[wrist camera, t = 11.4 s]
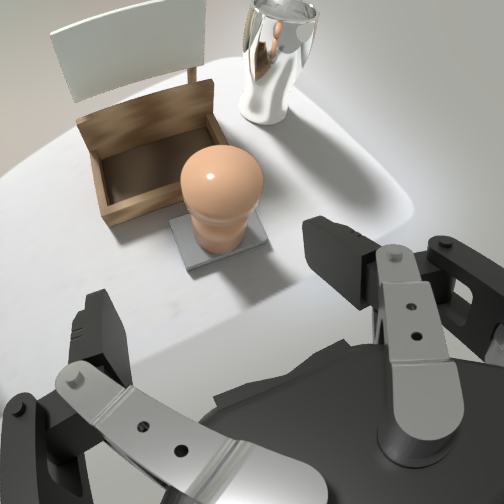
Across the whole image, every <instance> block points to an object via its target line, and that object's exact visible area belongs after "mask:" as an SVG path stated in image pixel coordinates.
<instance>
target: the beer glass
mask: <svg viewBox="0 0 504 504" xmlns="http://www.w3.org/2000/svg"><path fill="white" fill-rule="evenodd" d="M319 15H320V13H319V11H318V9H317V8H316V7H314V6H313V5H312V4H310V3H309V2H307V1H305V0H251V3H250V8H249V12H248V15H247V20H246V24H245V29H244V36H243V62H244V72H245V86H244V90H243V93H242V95H241V98H240V100H239V110H240V113H241V114H242V115H243V116H244V117H245V118H246V119H248V120H249V121H251V122H253V123H256V124H261V125H272V124H276V123H279V122H280V121H282V120H283V119H284V118H285V116H286V114H287V110H288V96H289V93H290V90H291V88H292V86H293V84H294V82H295V81H296V79H297V77H298V76H299V74H300V72H301V71H302V69H303V67H304V65H305V63H306V61H307V59H308V56H309V54H310V51H311V48H312V45H313V41H314V37H315V33H316V28H317V23H318V19H319Z"/></svg>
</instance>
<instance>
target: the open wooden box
mask: <svg viewBox="0 0 504 504" xmlns="http://www.w3.org/2000/svg"><path fill="white" fill-rule="evenodd" d="M187 74H188V84H186V85H182V86H178V87H174V88H170V89H166V90H162V91H159V92H155V93H152V94H148V95H145V96H142V97H138V98H135V99H132V100H129V101H126V102H123V103H120V104H117V105H114V106H111V107H108V108H105V109H102V110H100V111H97V112H94V113H91V114H89V115H87V116H84V117H81V118H79V119H77V120H76V123H77V127H78V129H79V131H80V133H81V135H82V137H83V140H84V142H85V144H86V146H87V148H88V150H89V153H90V159H91V166H92V172H93V177H94V183H95V188H96V193H97V199H98V204H99V208H100V213H101V217H102V218H103V220H104V221H105V223H106V224H107V226H108V227H111V226H114V225H117V224H119V223H122V222H125V221H127V220H130V219H133V218H136V217H138V216H141V215H144V214H147V213H150V212H152V211H155V210H158V209H161V208H164V207H167V206H170V205H173V204H176V203H179V202H181V201H184V200H183V194H182V188H181V172H182V169H183V167H184V165H185V163H186V162H187V160H188V159H189V158H190V157H191V156H192V155H193V154H195V153H196V152H198V151H200V150H202V149H204V148H207V147H210V146H215V145H228V146H229V144H228V142H227V140H226V138H225V136H224V134H223V132H222V130H221V128H220V126H219V124H218V122H217V120H216V118H215V116H214V114H213V99H214V82H213V80H212V79H208V80H203V81H198V82H196V67H192V68H188V69H187ZM107 188H108V189H107Z"/></svg>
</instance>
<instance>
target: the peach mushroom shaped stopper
mask: <svg viewBox="0 0 504 504" xmlns="http://www.w3.org/2000/svg"><path fill="white" fill-rule="evenodd" d="M262 187H263V173H262V170H261V168H260V165H259V164H258V162H257V161H256V160H255V159H254V158H253V157H252V156H251V155H250V154H249V153H247V152H246V151H244V150H242V149H240V148H237V147H234V146H228V145H215V146H210V147H207V148H204V149H202V150H200V151H198V152H196V153H195V154H193V155H192V156H191V157H190V158H189V159H188V160H187V162H186V163H185V165H184V167H183V169H182V172H181V188H182V194H183V200H184V204H185V206H186V208H187V210H188V211H189V213H190V214H191V219H192V226H193V233H194V237H195V240H196V242H197V243H198V245H199V246H200V247H201V248H202V249H204V250H205V251H207V252H209V253H212V254H226V253H229V252H232V251H233V250H235V249H236V248H238V246H239V245H240V244H241V243H242V241H243V239H244V236H245V232H246V228H247V224H248V219H249V216H250V215H251V214H252V213H253V212H254V211H255V209H256V207H257V205H258V202H259V198H260V195H261V191H262Z"/></svg>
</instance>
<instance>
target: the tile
mask: <svg viewBox="0 0 504 504" xmlns="http://www.w3.org/2000/svg"><path fill="white" fill-rule="evenodd" d="M169 222H170V226H171V229H172V232H173V234H174V237H175V240H176V243H177V246H178V249H179V251H180V254H181V257H182V260H183V263H184V265H185V268H186V271H189V270H192V269H194V268H197V267H200V266H203V265H206V264H208V263H211V262H214V261H217V260H219V259H222V258H225V257H228V256H230V255H233V254H236V253H239V252H241V251H244V250H247V249H250V248H253V247H255V246H258V245H261V244H264V243H266V242H267V240H268V238H267V236H266V233H265V231H264V229H263V227H262V225H261V223H260V221H259V218H258V216H257V214H256V212H255V211H254V212H253V213H252V214H251V215H250V216H249V219H248V224H247V228H246V232H245V236H244V239H243V241H242V243H241V244H240V245H239V246H238V248H236V249H235V250H233V251H232V252H229V253H226V254H212V253H209V252H207V251H205V250H204V249H202V248H201V247H200V246H199V245H198V243H197V242H196V240H195V237H194V233H193V226H192V219H191V214H190V213H188V214H185V215H182V216H179V217H176V218H173V219H171V220H169Z"/></svg>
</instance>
